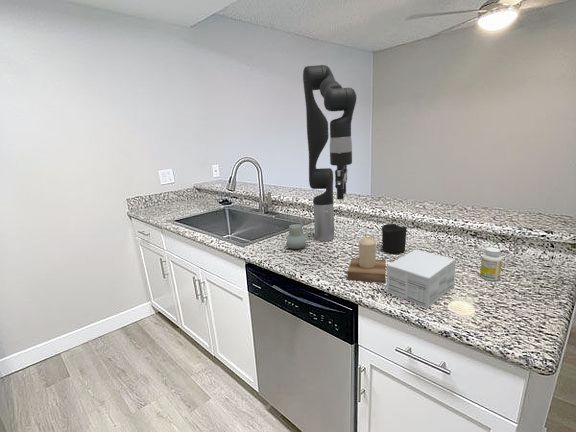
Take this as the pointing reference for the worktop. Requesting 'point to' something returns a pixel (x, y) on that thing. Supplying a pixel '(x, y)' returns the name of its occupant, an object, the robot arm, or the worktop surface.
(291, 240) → the air freshener
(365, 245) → the candle
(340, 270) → the worktop surface
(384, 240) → the pen holder
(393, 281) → the supplement box
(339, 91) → the robot arm
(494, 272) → the supplement bottle
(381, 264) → the walnut pedestal
